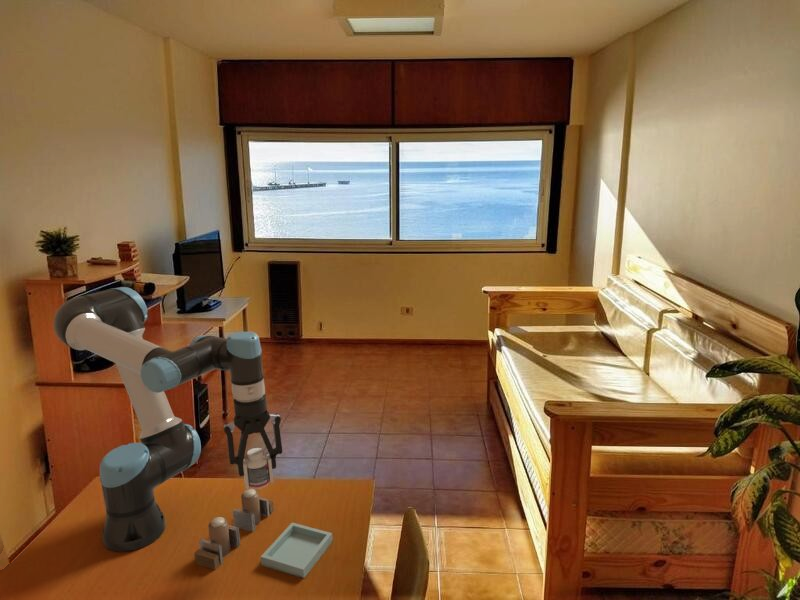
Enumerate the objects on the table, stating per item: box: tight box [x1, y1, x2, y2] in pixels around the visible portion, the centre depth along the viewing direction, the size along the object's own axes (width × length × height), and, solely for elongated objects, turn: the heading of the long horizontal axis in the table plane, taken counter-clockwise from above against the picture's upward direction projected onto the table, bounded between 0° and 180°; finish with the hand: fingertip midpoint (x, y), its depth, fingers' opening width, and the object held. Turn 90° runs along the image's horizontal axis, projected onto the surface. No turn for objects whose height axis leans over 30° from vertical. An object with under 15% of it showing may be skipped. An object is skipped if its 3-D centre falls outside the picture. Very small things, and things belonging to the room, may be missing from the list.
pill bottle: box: [245, 447, 270, 490], centre depth 142 cm, size 5×5×9 cm
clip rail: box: [193, 496, 275, 571], centre depth 150 cm, size 6×25×5 cm, turn 158°
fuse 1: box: [208, 516, 231, 558], centre depth 144 cm, size 5×5×9 cm
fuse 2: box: [240, 488, 262, 526], centre depth 156 cm, size 5×5×9 cm
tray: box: [260, 522, 334, 579], centre depth 144 cm, size 12×14×2 cm
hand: (259, 482), depth 143 cm, fingers closed on pill bottle, 5 cm apart
